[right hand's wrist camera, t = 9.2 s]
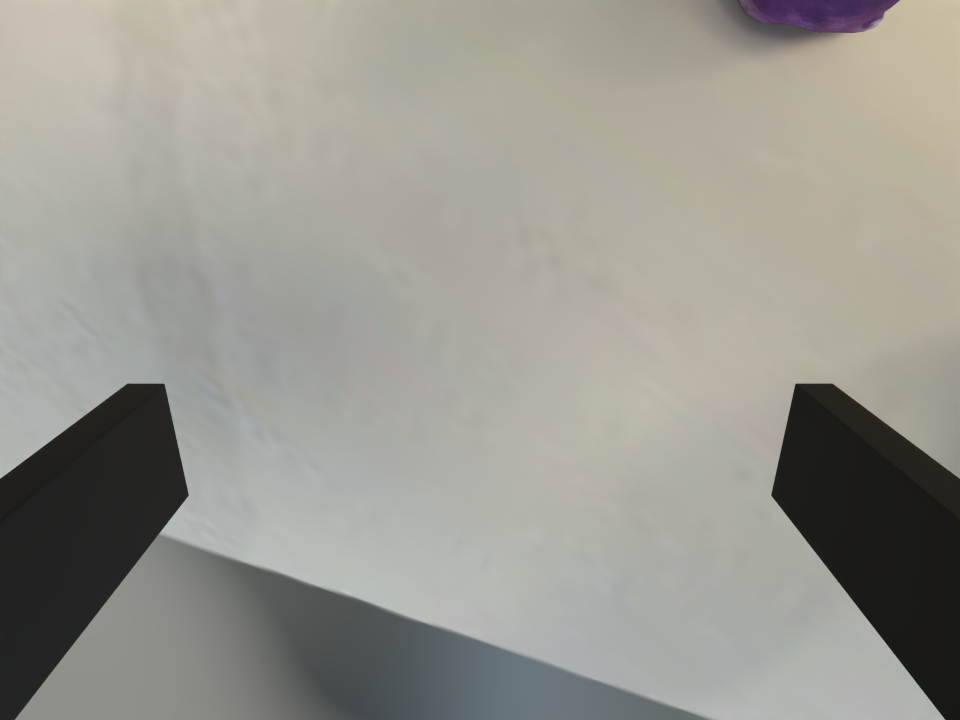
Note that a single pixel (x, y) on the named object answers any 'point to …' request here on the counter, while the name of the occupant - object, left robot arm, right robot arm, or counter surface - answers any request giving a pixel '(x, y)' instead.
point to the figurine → (820, 13)
